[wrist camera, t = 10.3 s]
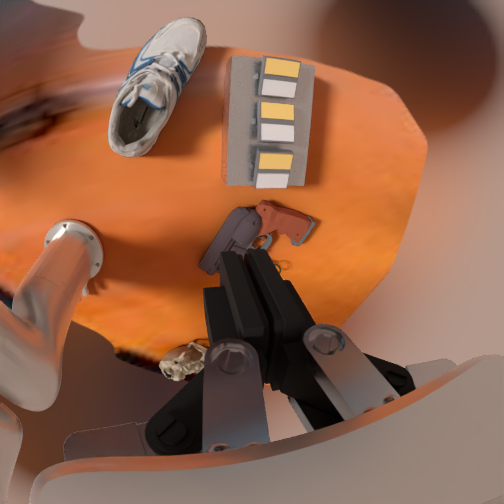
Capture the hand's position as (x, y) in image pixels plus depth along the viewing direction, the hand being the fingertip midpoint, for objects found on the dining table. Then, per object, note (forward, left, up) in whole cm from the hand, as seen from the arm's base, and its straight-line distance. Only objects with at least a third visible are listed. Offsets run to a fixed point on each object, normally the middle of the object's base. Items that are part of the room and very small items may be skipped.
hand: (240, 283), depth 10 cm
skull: (-46, +2, -36) cm, 58 cm away
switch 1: (+12, -10, -27) cm, 31 cm away
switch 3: (-1, -10, -27) cm, 29 cm away
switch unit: (+5, -10, -35) cm, 37 cm away
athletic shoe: (+11, +6, -36) cm, 38 cm away
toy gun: (-17, -10, -36) cm, 41 cm away
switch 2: (+5, -10, -27) cm, 29 cm away
